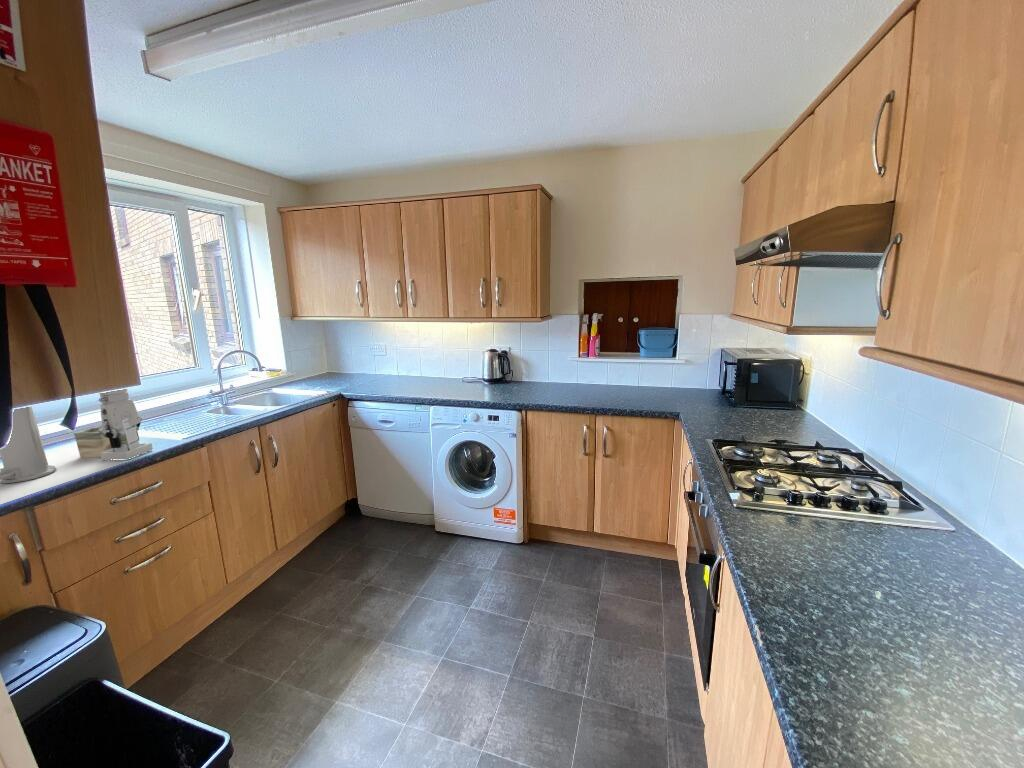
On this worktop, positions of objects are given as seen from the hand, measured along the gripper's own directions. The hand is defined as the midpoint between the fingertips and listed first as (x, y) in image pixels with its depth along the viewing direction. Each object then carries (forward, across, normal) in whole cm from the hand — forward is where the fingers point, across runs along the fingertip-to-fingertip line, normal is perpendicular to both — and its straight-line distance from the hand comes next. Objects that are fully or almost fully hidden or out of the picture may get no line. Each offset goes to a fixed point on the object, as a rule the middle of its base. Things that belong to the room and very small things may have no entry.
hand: (125, 444), depth 159 cm
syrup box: (+5, 0, 0) cm, 5 cm away
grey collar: (+4, 0, 0) cm, 4 cm away
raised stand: (+4, +4, +13) cm, 14 cm away
